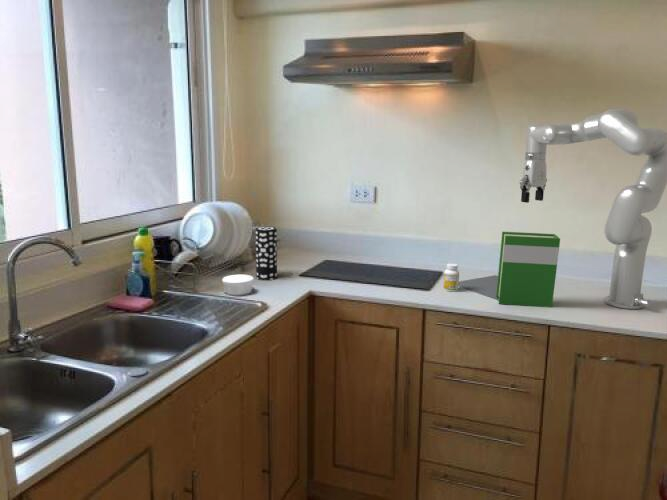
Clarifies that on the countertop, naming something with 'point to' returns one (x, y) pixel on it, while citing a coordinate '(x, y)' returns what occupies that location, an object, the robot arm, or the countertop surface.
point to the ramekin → (238, 284)
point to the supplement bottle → (451, 278)
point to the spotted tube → (266, 253)
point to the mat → (482, 285)
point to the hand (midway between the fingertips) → (532, 201)
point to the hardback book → (527, 268)
